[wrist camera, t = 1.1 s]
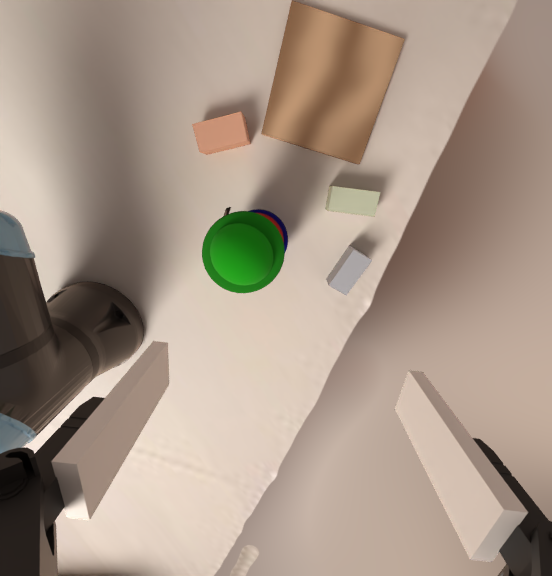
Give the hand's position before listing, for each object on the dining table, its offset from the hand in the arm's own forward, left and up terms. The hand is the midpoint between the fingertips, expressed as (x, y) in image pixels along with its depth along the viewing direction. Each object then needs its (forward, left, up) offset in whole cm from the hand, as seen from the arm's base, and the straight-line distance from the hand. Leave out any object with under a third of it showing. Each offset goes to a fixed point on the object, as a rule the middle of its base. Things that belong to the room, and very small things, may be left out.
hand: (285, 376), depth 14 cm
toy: (-5, +2, -27) cm, 27 cm away
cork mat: (-1, +21, -26) cm, 34 cm away
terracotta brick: (-12, +13, -27) cm, 32 cm away
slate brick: (+9, +1, -27) cm, 28 cm away
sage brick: (+6, +10, -27) cm, 29 cm away
